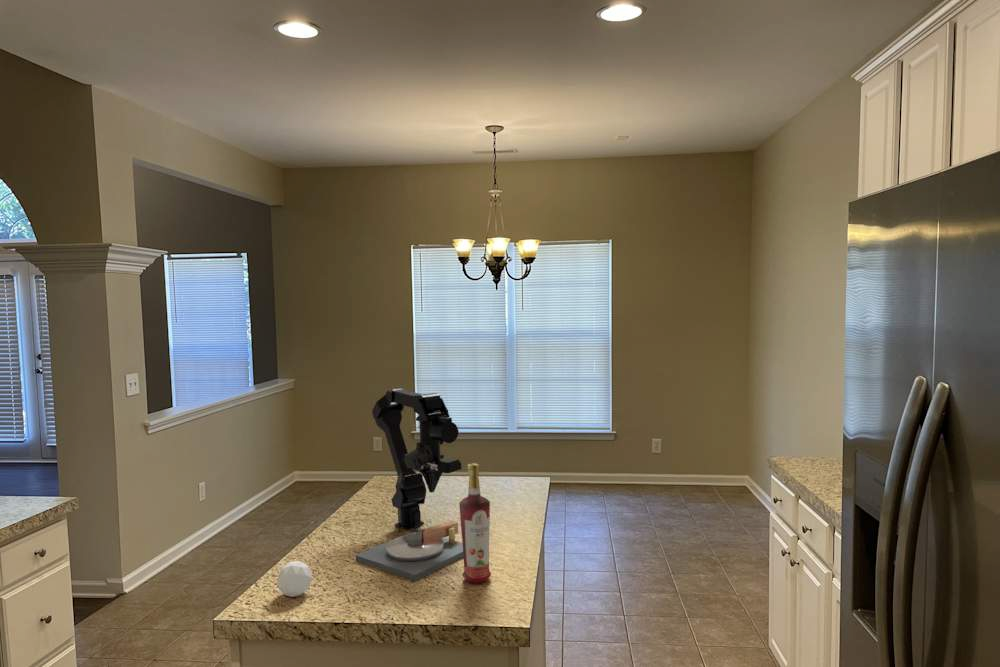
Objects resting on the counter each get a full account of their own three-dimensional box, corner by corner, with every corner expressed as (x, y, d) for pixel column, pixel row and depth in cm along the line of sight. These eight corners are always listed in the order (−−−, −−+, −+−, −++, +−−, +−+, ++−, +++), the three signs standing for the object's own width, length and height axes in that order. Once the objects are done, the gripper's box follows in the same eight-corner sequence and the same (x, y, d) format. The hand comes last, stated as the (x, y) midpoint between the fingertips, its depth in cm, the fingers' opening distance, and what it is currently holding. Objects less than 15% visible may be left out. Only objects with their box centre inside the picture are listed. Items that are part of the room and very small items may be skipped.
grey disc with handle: (403, 566, 160) (403, 548, 160) (376, 548, 172) (376, 531, 172) (471, 545, 172) (471, 528, 172) (442, 530, 184) (441, 515, 184)
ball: (304, 605, 150) (319, 582, 148) (271, 602, 146) (285, 578, 143) (302, 578, 156) (316, 556, 154) (270, 575, 152) (284, 551, 149)
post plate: (355, 560, 169) (354, 540, 169) (416, 535, 186) (415, 516, 186) (414, 581, 155) (414, 558, 155) (474, 551, 173) (473, 531, 172)
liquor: (468, 589, 150) (464, 470, 149) (457, 577, 157) (453, 463, 156) (496, 582, 153) (493, 466, 152) (485, 571, 160) (481, 459, 158)
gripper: (386, 439, 183) (388, 493, 183) (434, 447, 171) (435, 505, 172) (414, 432, 191) (416, 484, 192) (461, 439, 180) (463, 494, 181)
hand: (431, 492), depth 184 cm, fingers closed
